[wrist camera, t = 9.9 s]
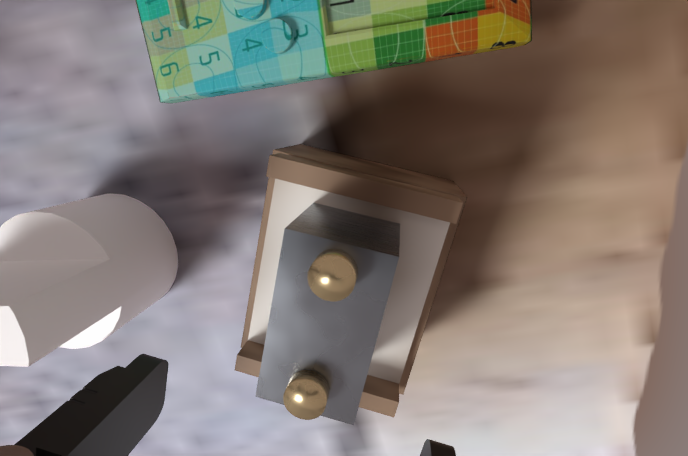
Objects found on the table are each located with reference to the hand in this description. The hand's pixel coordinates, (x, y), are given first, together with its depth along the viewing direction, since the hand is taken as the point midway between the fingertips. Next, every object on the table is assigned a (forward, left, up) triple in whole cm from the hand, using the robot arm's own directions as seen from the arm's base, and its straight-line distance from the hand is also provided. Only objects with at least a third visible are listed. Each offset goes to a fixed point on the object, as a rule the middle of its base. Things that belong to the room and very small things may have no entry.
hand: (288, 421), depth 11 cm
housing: (0, 0, -10) cm, 10 cm away
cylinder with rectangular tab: (-17, -5, -16) cm, 24 cm away
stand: (0, 0, -16) cm, 16 cm away
